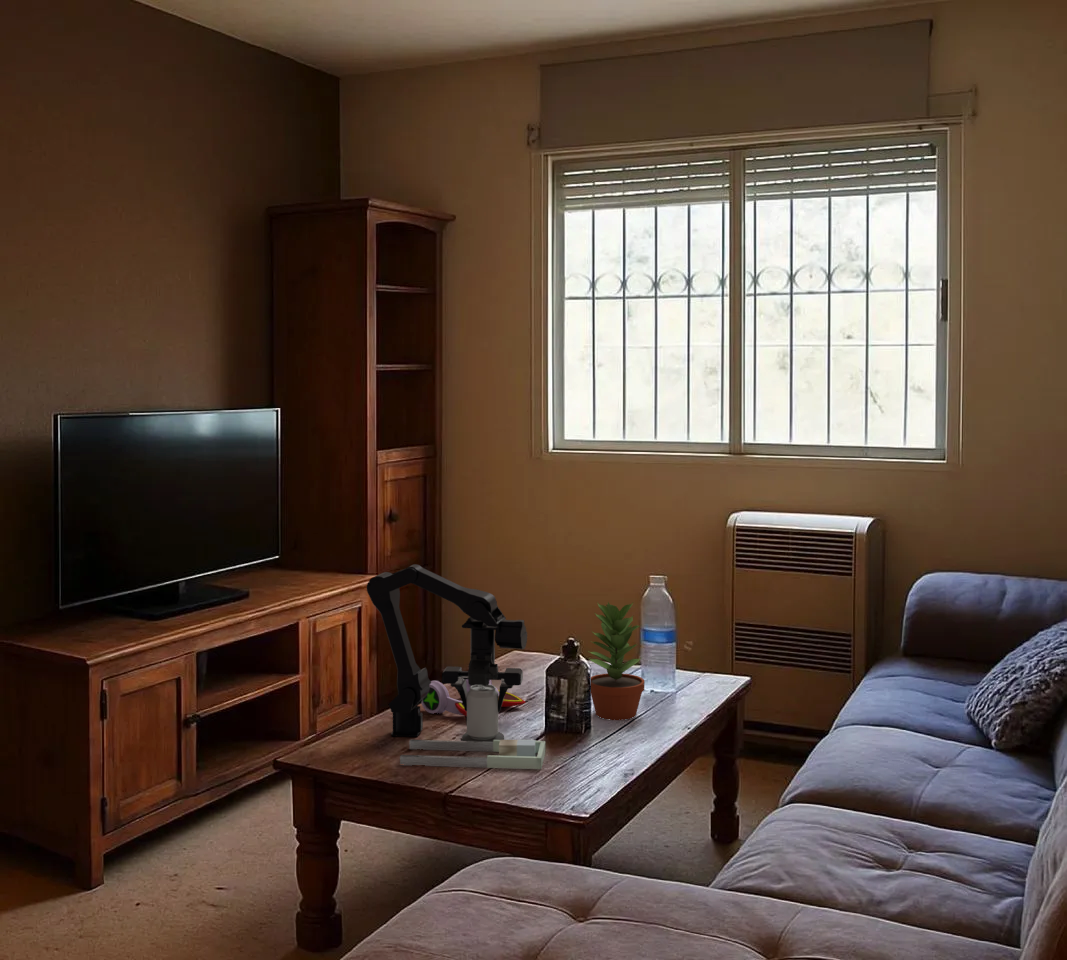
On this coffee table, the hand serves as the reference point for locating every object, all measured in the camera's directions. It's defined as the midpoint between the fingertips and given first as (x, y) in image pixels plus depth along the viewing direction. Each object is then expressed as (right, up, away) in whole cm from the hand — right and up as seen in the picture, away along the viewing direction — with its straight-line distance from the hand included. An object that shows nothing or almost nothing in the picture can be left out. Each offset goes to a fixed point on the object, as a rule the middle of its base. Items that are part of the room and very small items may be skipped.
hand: (482, 711), depth 281 cm
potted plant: (+33, -5, +21) cm, 39 cm away
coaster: (0, -7, +1) cm, 7 cm away
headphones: (-3, -5, +25) cm, 26 cm away
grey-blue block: (+10, -8, -14) cm, 19 cm away
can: (0, -6, +1) cm, 6 cm away
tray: (+8, -8, -14) cm, 18 cm away
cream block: (+6, -8, -14) cm, 17 cm away
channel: (-7, -8, -13) cm, 17 cm away
